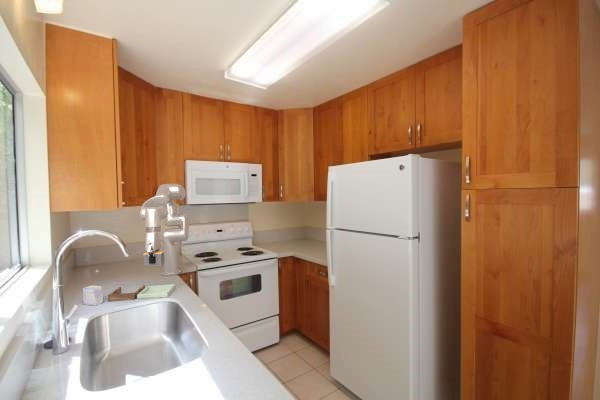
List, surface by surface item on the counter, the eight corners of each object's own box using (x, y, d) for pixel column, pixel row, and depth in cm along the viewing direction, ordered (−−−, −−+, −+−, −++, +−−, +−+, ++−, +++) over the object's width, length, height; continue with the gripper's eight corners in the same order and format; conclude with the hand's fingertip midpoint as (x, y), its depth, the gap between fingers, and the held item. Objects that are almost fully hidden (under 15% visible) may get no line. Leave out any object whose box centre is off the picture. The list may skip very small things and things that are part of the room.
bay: (119, 293, 154) (119, 287, 154) (145, 291, 156) (144, 285, 156) (108, 301, 142) (108, 295, 142) (135, 299, 144) (135, 293, 144)
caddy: (147, 264, 154) (147, 251, 154) (164, 263, 155) (164, 250, 155) (143, 266, 149) (143, 253, 149) (161, 265, 150) (160, 252, 150)
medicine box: (103, 302, 141) (102, 286, 140) (94, 306, 136) (94, 289, 136) (91, 301, 143) (91, 285, 142) (83, 304, 138) (82, 288, 138)
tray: (147, 290, 158) (147, 285, 158) (175, 288, 160) (175, 284, 160) (137, 299, 144) (137, 294, 144) (167, 297, 146) (167, 292, 146)
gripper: (152, 228, 159) (153, 259, 160) (139, 232, 143) (140, 266, 143) (165, 227, 161) (166, 258, 161) (154, 231, 144) (155, 265, 144)
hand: (154, 262), depth 152 cm, fingers closed on caddy, 5 cm apart
